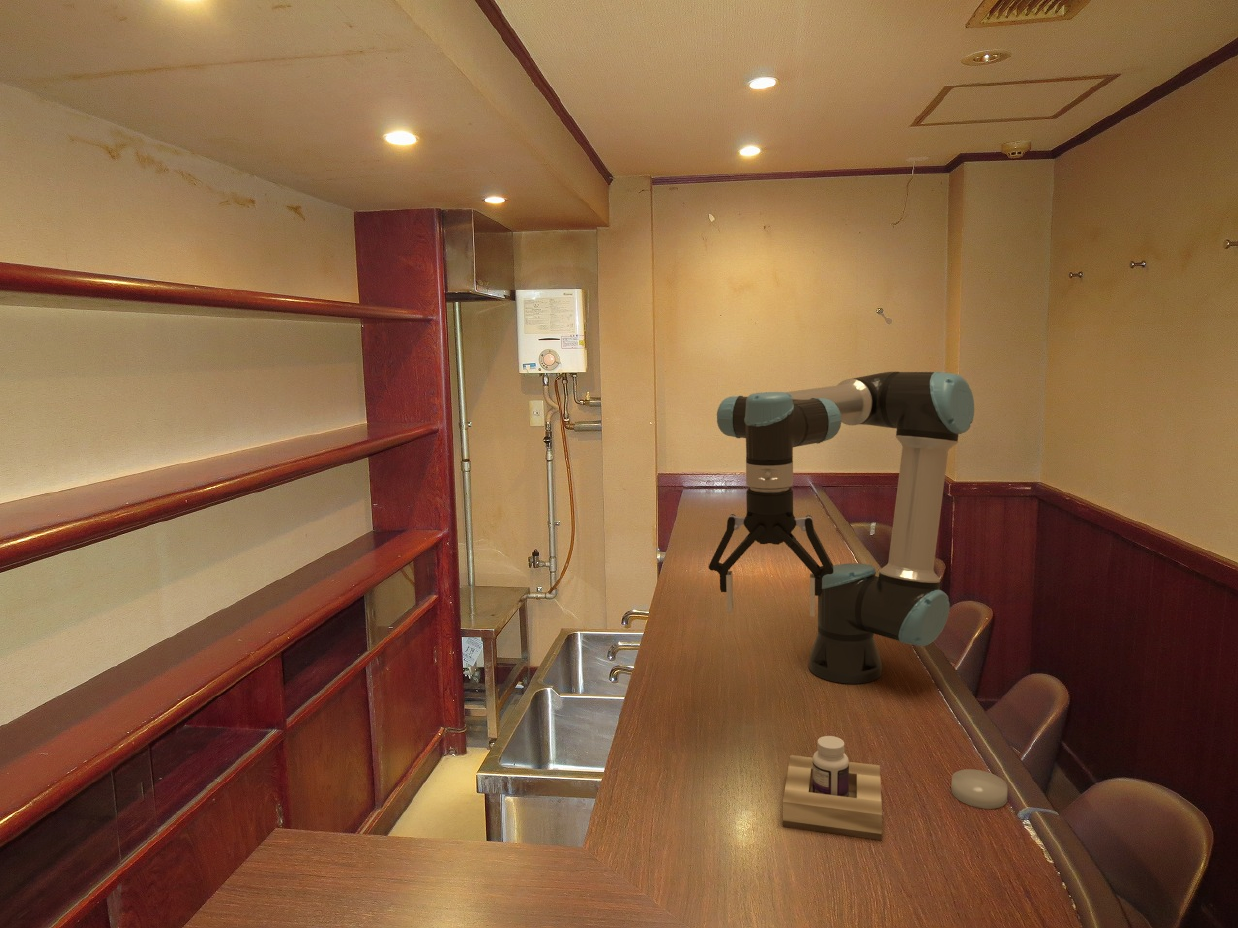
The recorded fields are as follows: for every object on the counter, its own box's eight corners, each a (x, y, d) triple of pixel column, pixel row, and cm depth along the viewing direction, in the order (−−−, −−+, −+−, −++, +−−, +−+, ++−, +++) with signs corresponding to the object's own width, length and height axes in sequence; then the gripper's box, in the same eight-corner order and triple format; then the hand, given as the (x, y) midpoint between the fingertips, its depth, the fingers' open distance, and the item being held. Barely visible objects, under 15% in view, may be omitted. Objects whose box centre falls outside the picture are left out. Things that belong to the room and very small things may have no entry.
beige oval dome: (948, 777, 133) (949, 766, 133) (1002, 784, 131) (1002, 772, 131) (954, 804, 126) (954, 792, 125) (1011, 811, 123) (1011, 799, 123)
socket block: (790, 777, 135) (790, 754, 134) (879, 788, 131) (879, 765, 130) (782, 826, 121) (782, 801, 121) (881, 840, 117) (882, 814, 117)
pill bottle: (843, 790, 128) (844, 732, 127) (852, 810, 123) (853, 750, 122) (808, 791, 128) (809, 733, 127) (816, 811, 123) (817, 751, 122)
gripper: (690, 491, 132) (693, 616, 136) (849, 493, 126) (848, 623, 130) (697, 482, 140) (699, 601, 143) (848, 483, 134) (847, 607, 137)
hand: (770, 612), depth 137 cm, fingers open, 13 cm apart
